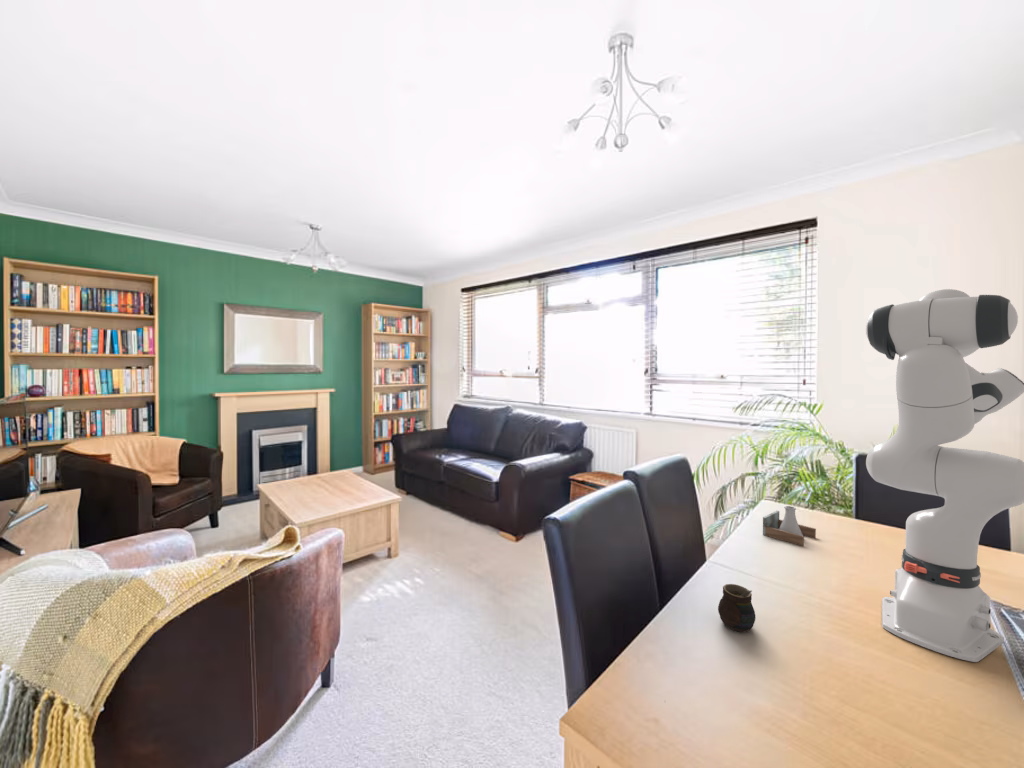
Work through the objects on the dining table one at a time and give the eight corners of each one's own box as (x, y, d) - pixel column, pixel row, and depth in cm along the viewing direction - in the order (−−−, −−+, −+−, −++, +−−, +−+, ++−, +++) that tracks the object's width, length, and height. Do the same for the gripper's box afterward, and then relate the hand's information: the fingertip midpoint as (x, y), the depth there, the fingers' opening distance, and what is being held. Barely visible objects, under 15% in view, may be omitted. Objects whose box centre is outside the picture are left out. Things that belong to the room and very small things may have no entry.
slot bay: (802, 546, 131) (803, 527, 131) (762, 534, 140) (763, 517, 140) (815, 537, 138) (815, 519, 138) (776, 527, 147) (776, 510, 147)
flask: (772, 533, 141) (772, 505, 141) (787, 531, 144) (788, 503, 143) (792, 541, 134) (792, 511, 134) (808, 539, 137) (808, 509, 136)
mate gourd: (734, 613, 94) (735, 570, 94) (764, 632, 87) (766, 587, 87) (710, 619, 92) (711, 575, 91) (739, 640, 85) (741, 593, 84)
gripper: (945, 406, 123) (900, 434, 131) (933, 410, 111) (884, 441, 119) (967, 422, 120) (919, 450, 128) (956, 428, 108) (905, 459, 116)
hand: (902, 446), depth 123 cm, fingers closed
